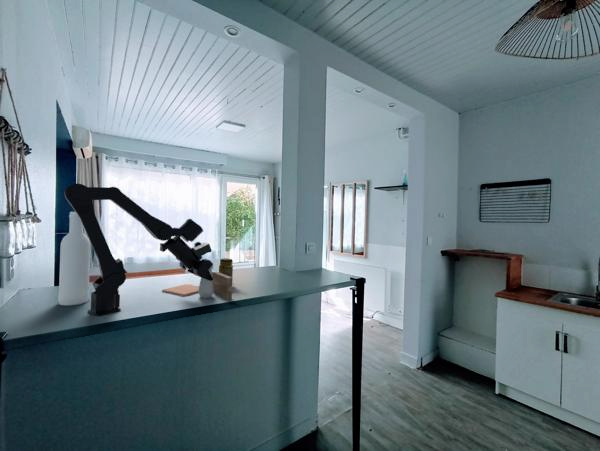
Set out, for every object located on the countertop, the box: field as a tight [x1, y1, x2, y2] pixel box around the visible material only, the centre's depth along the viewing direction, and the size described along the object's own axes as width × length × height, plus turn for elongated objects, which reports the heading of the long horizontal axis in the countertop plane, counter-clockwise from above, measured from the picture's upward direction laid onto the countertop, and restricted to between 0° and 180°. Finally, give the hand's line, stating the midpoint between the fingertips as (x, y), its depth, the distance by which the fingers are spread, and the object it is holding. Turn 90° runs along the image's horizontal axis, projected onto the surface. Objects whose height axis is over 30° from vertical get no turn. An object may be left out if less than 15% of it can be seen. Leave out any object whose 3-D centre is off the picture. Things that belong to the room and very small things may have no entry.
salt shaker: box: [197, 264, 214, 299], centre depth 107 cm, size 6×6×13 cm
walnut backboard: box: [212, 271, 234, 300], centre depth 111 cm, size 2×14×8 cm, turn 41°
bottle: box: [57, 211, 91, 307], centre depth 94 cm, size 8×8×30 cm
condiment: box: [218, 257, 234, 289], centre depth 126 cm, size 7×8×12 cm
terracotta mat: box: [161, 283, 199, 297], centre depth 115 cm, size 12×12×1 cm
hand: (210, 279), depth 108 cm, fingers closed on salt shaker, 3 cm apart
